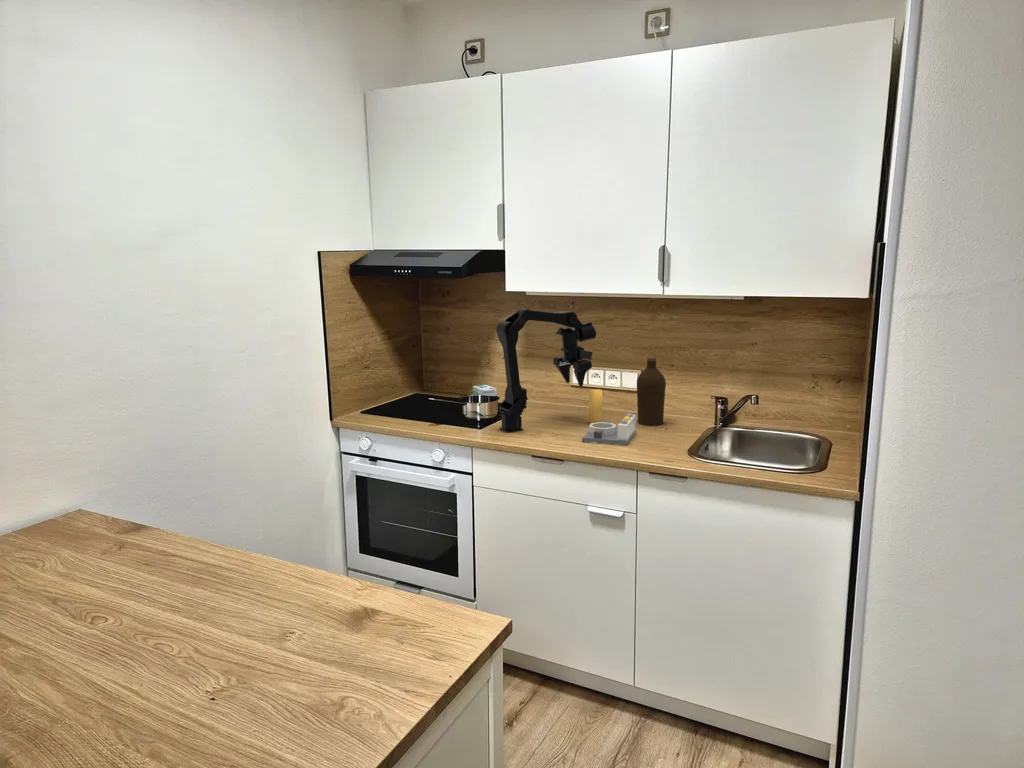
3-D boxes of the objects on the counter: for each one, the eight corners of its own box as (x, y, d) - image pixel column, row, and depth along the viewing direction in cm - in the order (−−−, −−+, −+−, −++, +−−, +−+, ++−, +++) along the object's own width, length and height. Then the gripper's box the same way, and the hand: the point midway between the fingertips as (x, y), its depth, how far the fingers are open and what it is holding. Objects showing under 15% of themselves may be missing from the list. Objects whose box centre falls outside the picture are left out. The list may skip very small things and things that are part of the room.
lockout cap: (594, 425, 254) (594, 392, 252) (586, 422, 258) (586, 390, 256) (604, 423, 256) (605, 390, 254) (596, 420, 261) (597, 388, 258)
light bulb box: (472, 411, 281) (472, 385, 279) (487, 409, 283) (487, 384, 281) (482, 416, 271) (482, 390, 269) (498, 414, 274) (497, 388, 272)
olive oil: (652, 427, 249) (653, 360, 244) (630, 422, 257) (631, 357, 252) (670, 422, 255) (672, 356, 251) (648, 418, 263) (649, 354, 259)
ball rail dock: (582, 442, 231) (582, 419, 230) (594, 429, 248) (594, 408, 246) (626, 445, 226) (626, 422, 224) (635, 432, 242) (636, 410, 241)
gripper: (602, 342, 250) (606, 383, 254) (574, 338, 267) (578, 376, 270) (576, 348, 246) (581, 390, 249) (550, 343, 262) (555, 382, 266)
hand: (574, 384), depth 259 cm, fingers open, 9 cm apart
